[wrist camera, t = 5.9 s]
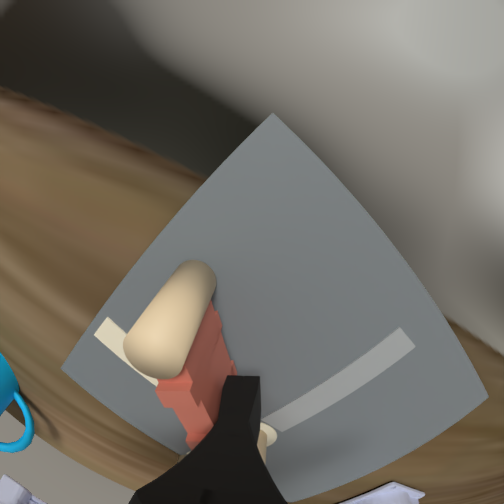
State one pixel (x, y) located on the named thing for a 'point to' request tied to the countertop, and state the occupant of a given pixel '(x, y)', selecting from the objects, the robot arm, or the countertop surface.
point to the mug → (5, 391)
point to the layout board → (294, 321)
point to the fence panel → (184, 348)
